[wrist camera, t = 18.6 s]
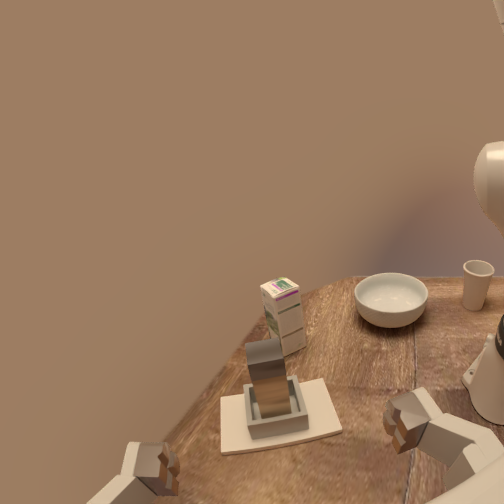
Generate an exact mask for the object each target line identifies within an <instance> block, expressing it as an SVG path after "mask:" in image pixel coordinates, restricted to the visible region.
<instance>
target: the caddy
mask: <svg viewBox="0 0 504 504" xmlns="http://www.w3.org/2000/svg"><path fill="white" fill-rule="evenodd" d="M287 383H288V390H289V397H290V404H291V411H292V414H287V415H282V416H277V417H271V418H266V419H262V418H261V414H260V411H259V407H258V403H257V400H256V396H255V392H254V388H253V384H246V385H243V386H244V394H240V395H233V396H226V397H221V453H222V455H231V454H240V453H247V452H255V451H261V450H268V449H273V448H279V447H284V446H289V445H294V444H299V443H303V442H308V441H312V440H316V439H320V438H324V437H328V436H332V435H335V434H339V433H342V427H341V424H340V422H339V419H338V417H337V414H336V411H335V409H334V406H333V404H332V401H331V399H330V396H329V393H328V391H327V388H326V386H325V383H324V381H323V378H320V379H315V380H311V381H307V382H303V383H299V382H298V379H297V376H296V375H293V376H289V377H287Z"/></svg>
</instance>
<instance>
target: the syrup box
mask: <svg viewBox="0 0 504 504" xmlns="http://www.w3.org/2000/svg"><path fill="white" fill-rule="evenodd" d="M260 288H261V293H262V299H263V304H264V309H265V314H266V320H267V325H268V330H269V335H270V339H272V338H277V337H278V339H279V342H280V346H281V350H282V353H283V357H284V356H287V355H289V354H292V353H294V352H296V351H298V350H300V349H302V348H304V347H306V337H305V328H304V320H303V311H302V303H301V295H300V288H299V286H298V285H296V284H295V283H293V282H292V281H290V280H289V279H287V278H286V277H281V278H278V279H275V280H272V281H270V282H267V283H265V284H263V285H261V286H260Z"/></svg>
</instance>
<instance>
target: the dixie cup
mask: <svg viewBox="0 0 504 504" xmlns="http://www.w3.org/2000/svg"><path fill="white" fill-rule="evenodd" d="M463 267H464V289H463V306H464V307H465V308H466V309H468V310H471V311H478V310H480V309H481V308H482V306H483V304H484V301H485V298H486V295H487V292H488V289H489V285H490V282H491V279H492V275H493V273H494V268H493V266H492V265H490V264H489V263H487V262H484V261H480V260H471V261H467V262H466V263H465V264H464V265H463Z"/></svg>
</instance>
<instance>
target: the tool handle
mask: <svg viewBox="0 0 504 504" xmlns="http://www.w3.org/2000/svg"><path fill="white" fill-rule="evenodd" d="M245 346H246V355H247V365H248V369H249V373H250V377H251V380H252V384H253V388H254V392H255V396H256V400H257V403H258V407H259V411H260V414H261V418H262V419H266V418H271V417H277V416H282V415H287V414H292V411H291V404H290V397H289V390H288V383H287V376H286V370H285V363H284V357H283V353H282V350H281V346H280V342H279V339H278V337H277V338H272V339H267V340H262V341H256V342H251V343H245Z"/></svg>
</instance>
